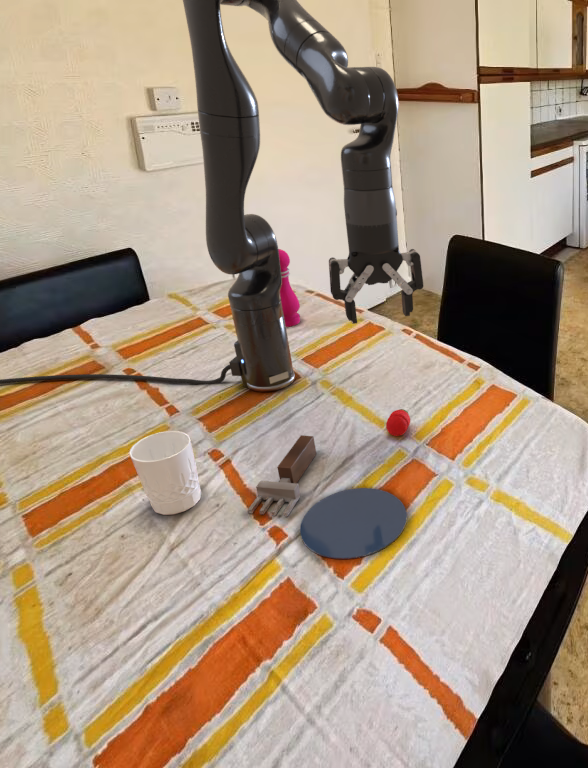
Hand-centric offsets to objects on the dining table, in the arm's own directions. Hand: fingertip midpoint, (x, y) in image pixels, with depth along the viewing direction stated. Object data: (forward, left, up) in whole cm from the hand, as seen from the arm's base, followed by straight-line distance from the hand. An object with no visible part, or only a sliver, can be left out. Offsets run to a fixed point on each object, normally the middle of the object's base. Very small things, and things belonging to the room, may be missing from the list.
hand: (380, 318), depth 100 cm
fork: (-12, -17, -22) cm, 30 cm away
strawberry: (+1, 0, -22) cm, 22 cm away
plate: (+1, -24, -22) cm, 32 cm away
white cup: (-27, -23, -22) cm, 41 cm away
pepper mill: (-40, +45, -22) cm, 64 cm away
